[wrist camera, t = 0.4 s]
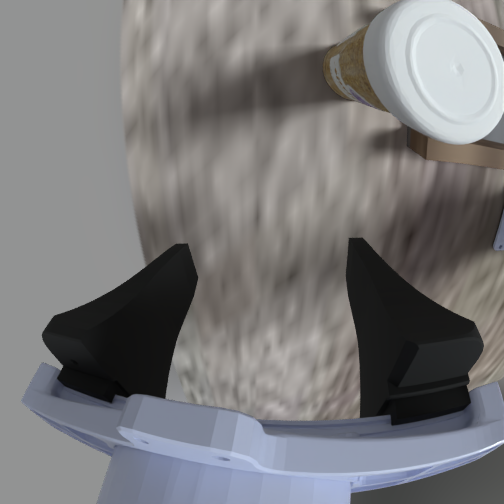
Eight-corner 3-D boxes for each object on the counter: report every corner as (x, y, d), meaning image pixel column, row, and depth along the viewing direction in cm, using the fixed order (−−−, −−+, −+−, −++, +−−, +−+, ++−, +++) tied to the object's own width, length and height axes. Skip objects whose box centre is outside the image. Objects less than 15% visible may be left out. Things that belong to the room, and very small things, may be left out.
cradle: (520, 51, 9) (545, 54, 6) (517, 161, 15) (540, 177, 12) (399, 9, 11) (418, -1, 8) (407, 145, 18) (426, 159, 15)
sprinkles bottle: (316, 90, 17) (362, 111, 6) (329, 33, 14) (392, -36, 3) (377, 109, 17) (491, 172, 6) (391, 54, 14) (521, 47, 3)
